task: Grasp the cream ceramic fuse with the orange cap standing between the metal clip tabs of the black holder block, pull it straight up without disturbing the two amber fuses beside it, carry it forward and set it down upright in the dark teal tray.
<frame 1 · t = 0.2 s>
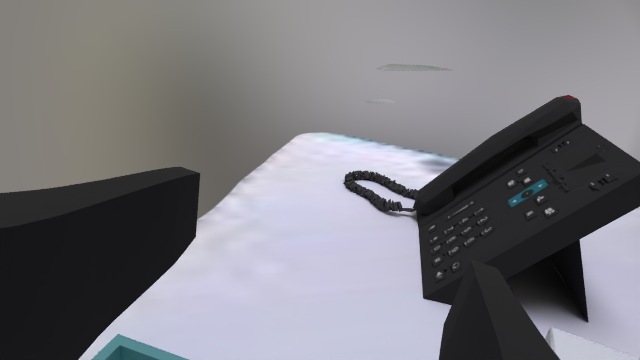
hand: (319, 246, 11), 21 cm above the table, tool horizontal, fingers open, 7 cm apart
office phone: (438, 237, 57), on the table
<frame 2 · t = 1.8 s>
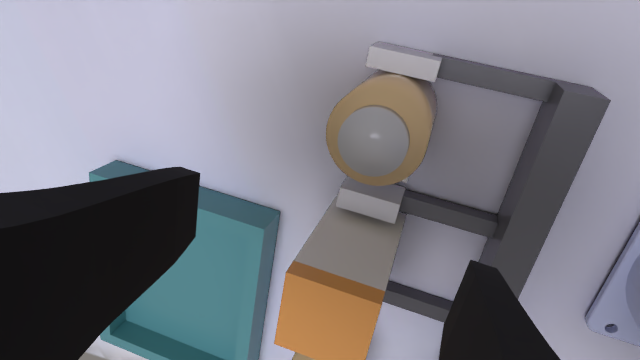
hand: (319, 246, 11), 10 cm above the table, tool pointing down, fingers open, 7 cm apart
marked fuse: (364, 233, 23), on the table
tray: (190, 272, 27), on the table
holder block: (363, 234, 22), on the table
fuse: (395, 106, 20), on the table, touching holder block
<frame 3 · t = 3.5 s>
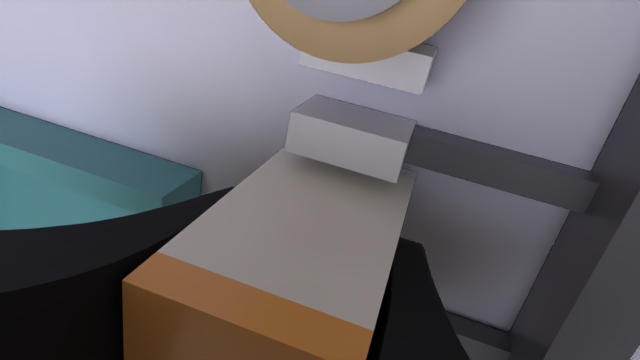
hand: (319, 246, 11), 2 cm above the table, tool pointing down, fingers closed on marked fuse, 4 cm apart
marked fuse: (341, 209, 13), on the table, touching gripper
tray: (77, 272, 18), on the table
holder block: (341, 209, 13), on the table
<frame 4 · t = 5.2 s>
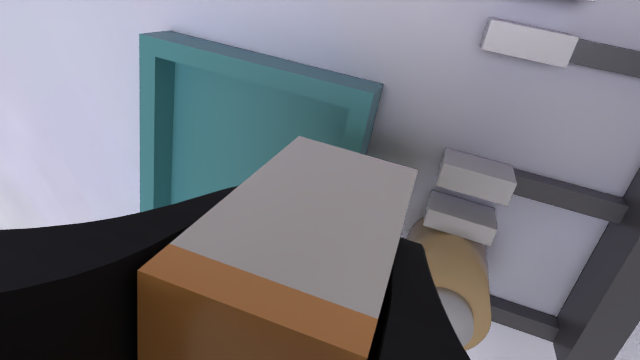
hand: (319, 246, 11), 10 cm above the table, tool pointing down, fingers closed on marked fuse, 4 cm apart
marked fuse: (344, 205, 13), point 7 cm above the table, touching gripper
tray: (254, 179, 22), on the table
holder block: (496, 107, 17), on the table
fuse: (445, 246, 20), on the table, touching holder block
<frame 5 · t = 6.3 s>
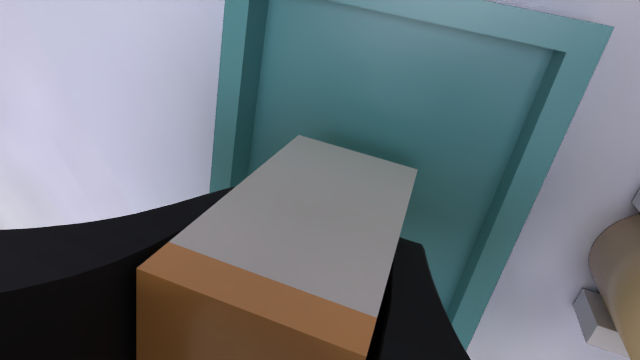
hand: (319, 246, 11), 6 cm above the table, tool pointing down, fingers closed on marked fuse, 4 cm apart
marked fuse: (343, 205, 13), point 3 cm above the table, touching gripper
tray: (367, 166, 16), on the table
when the fingers open (4 cm above the table, at t = 7.1 s): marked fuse stays where it is, resting on tray.
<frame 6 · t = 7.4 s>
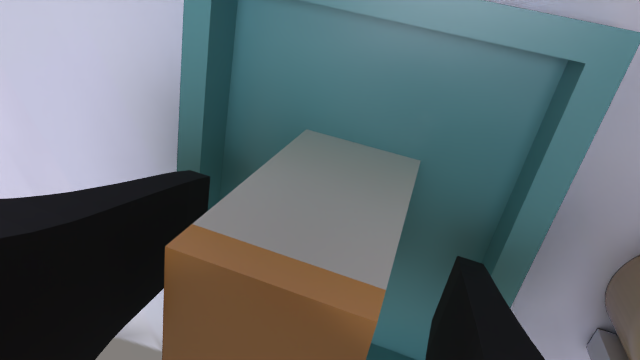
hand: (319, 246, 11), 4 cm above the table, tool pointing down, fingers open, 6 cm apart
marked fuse: (349, 196, 14), point 1 cm above the table, touching tray
tray: (353, 188, 14), on the table
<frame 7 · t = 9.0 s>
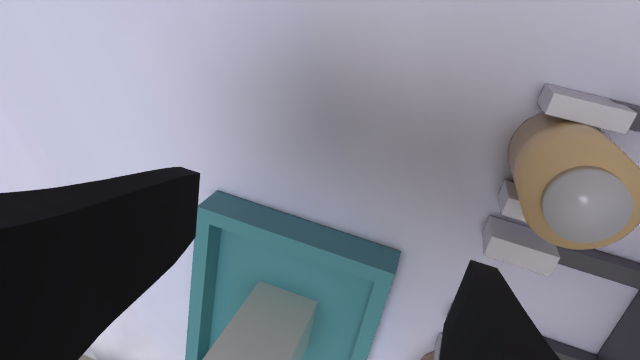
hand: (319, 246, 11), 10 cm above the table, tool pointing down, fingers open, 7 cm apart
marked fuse: (283, 314, 25), point 1 cm above the table, touching tray
tray: (286, 308, 26), on the table
holder block: (494, 279, 21), on the table
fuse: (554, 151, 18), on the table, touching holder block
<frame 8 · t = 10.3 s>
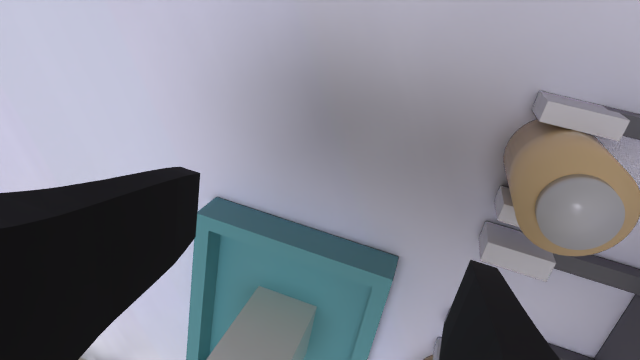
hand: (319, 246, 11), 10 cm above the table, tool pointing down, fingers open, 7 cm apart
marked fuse: (283, 319, 26), point 1 cm above the table, touching tray
tray: (286, 312, 26), on the table
holder block: (492, 284, 21), on the table
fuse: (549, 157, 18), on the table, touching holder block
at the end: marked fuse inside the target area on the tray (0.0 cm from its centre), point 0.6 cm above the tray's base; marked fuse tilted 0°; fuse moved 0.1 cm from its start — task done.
